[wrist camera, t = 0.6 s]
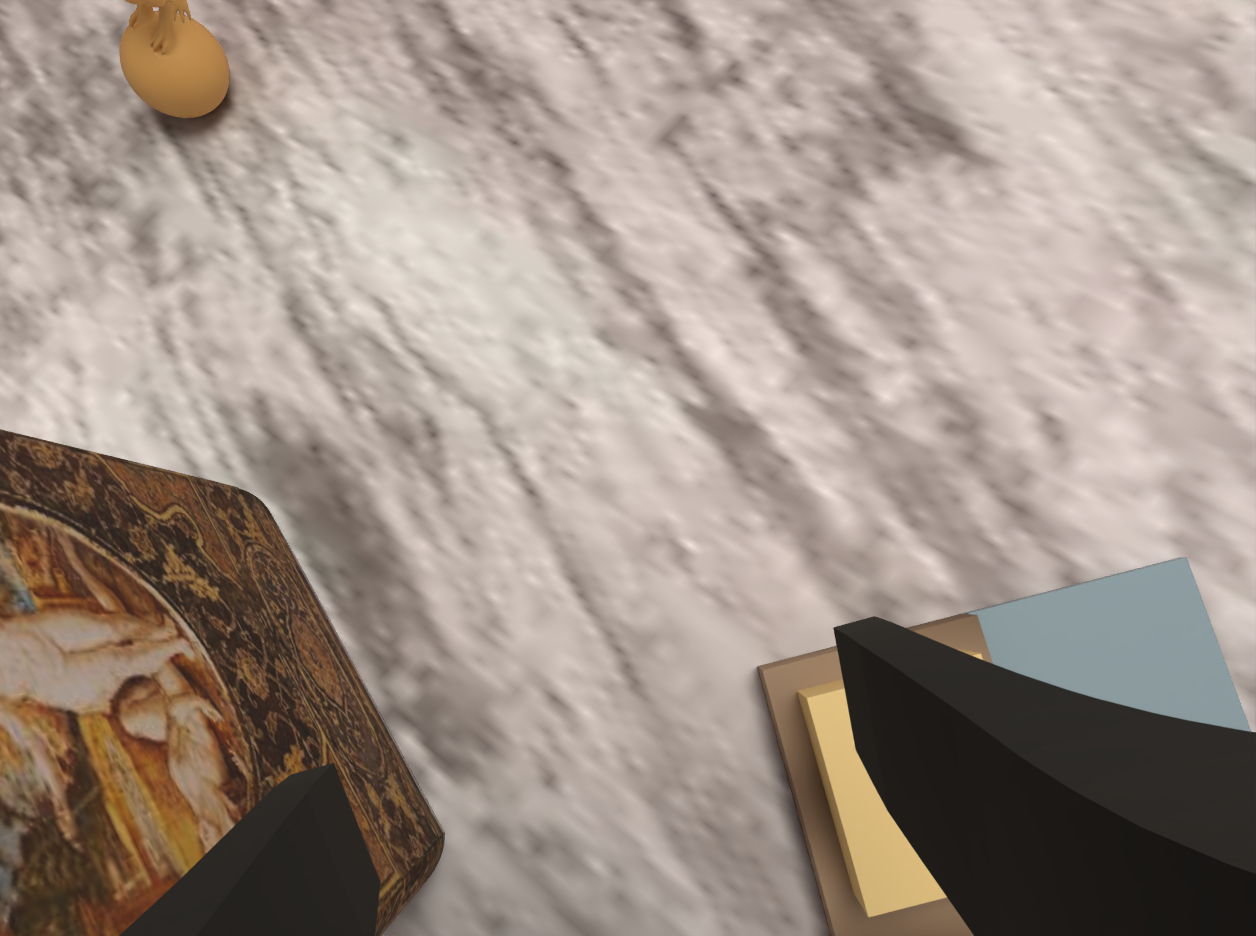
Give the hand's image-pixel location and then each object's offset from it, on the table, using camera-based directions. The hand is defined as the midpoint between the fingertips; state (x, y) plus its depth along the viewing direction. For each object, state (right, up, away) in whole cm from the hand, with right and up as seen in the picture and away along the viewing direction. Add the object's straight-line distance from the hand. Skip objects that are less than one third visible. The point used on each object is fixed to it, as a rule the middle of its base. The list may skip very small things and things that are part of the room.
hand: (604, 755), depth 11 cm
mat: (+18, -6, +18) cm, 27 cm away
